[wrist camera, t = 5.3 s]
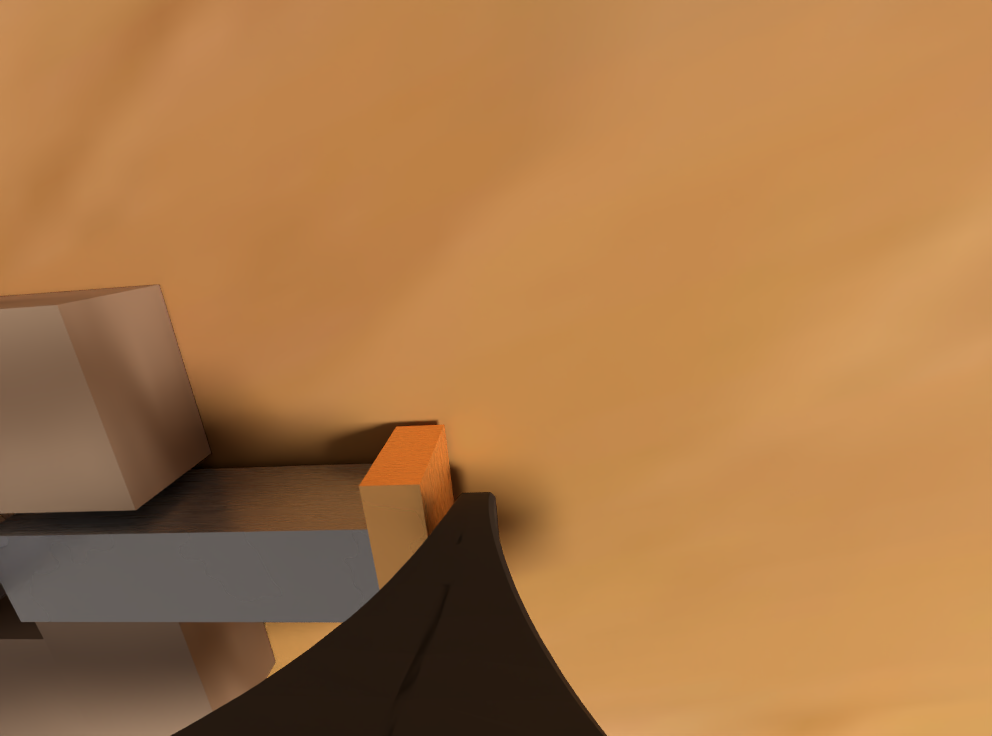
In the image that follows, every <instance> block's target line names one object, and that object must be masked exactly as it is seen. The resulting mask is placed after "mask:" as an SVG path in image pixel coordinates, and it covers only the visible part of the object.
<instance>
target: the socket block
mask: <svg viewBox="0 0 992 736" xmlns="http://www.w3.org/2000/svg"><path fill="white" fill-rule="evenodd" d="M209 454H211V451H210V448H209V444H208V441H207V438H206V435H205V432H204V428H203V425H202V422H201V419H200V415H199V412H198V409H197V406H196V402H195V399H194V396H193V393H192V389H191V386H190V383H189V380H188V376H187V373H186V370H185V367H184V363H183V360H182V357H181V354H180V350H179V347H178V344H177V341H176V337H175V334H174V331H173V328H172V324H171V321H170V318H169V315H168V311H167V308H166V305H165V302H164V298H163V295H162V292H161V289H160V286H159V285H147V286H133V287H120V288H106V289H93V290H79V291H66V292H53V293H39V294H26V295H12V296H0V514H2V513H44V512H86V511H127V510H137V509H138V508H139V507H141V506H142V505H143V504H145V503H146V502H147V501H149V500H150V499H151V498H153V497H154V496H155V495H157V494H158V493H159V492H161V491H162V490H163V489H165V488H166V487H167V486H168V485H170V484H171V483H172V482H174V481H175V480H176V479H178V478H179V477H180V476H182V475H183V474H184V473H186V472H187V471H188V470H190V469H191V468H192V467H194V466H195V465H196V464H198V463H199V462H200V461H202V460H203V459H204V458H205V457H207V456H208V455H209ZM274 664H275V659H274V655H273V652H272V649H271V646H270V642H269V639H268V636H267V633H266V629H265V626H264V623H263V622H21V621H20V619H19V617H18V615H17V613H16V611H15V609H14V607H13V605H12V603H11V602H10V600H9V598H8V596H7V595H6V596H5V597H3V598H2V599H1V600H0V736H171V735H172V734H174V733H176V732H178V731H180V730H181V729H183V728H185V727H187V726H189V725H190V724H192V723H194V722H195V721H197V720H199V719H201V718H202V717H204V716H206V715H207V714H209V713H211V712H213V711H214V710H216V709H218V708H219V707H221V706H223V705H225V704H226V703H228V702H230V701H231V700H233V699H235V698H237V697H238V696H240V695H242V694H243V693H245V692H246V691H248V690H250V689H251V688H253V687H254V686H256V685H258V684H259V683H261V682H262V681H264V680H265V679H266V678H267V676H268V675H269V673H270V671H271V669H272V668H273V666H274Z"/></svg>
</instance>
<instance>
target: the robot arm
mask: <svg viewBox="0 0 992 736" xmlns="http://www.w3.org/2000/svg"><path fill="white" fill-rule="evenodd" d="M171 736H607V735H606V734H605V732H604V731H603V730H602V729H601V727H600V726H599V725H598V723H597V722H596V721H595V719H594V718H593V717H592V715H591V714H590V713H589V711H588V710H587V709H586V707H585V706H584V705H583V703H582V702H581V700H580V699H579V697H578V696H577V695H576V693H575V692H574V690H573V689H572V687H571V686H570V684H569V683H568V681H567V680H566V679H565V677H564V676H563V674H562V672H561V671H560V669H559V667H558V666H557V664H556V662H555V661H554V659H553V657H552V656H551V654H550V653H549V651H548V649H547V648H546V646H545V644H544V643H543V641H542V639H541V638H540V636H539V634H538V632H537V630H536V628H535V626H534V625H533V623H532V621H531V619H530V617H529V615H528V613H527V611H526V609H525V607H524V605H523V603H522V600H521V598H520V596H519V594H518V591H517V589H516V587H515V584H514V582H513V579H512V577H511V574H510V572H509V569H508V566H507V563H506V560H505V557H504V555H503V551H502V548H501V544H500V541H499V530H498V519H497V508H496V498H495V496H494V495H493V494H492V493H491V492H478V493H462V494H461V495H460V496H459V497H458V498H457V500H456V501H455V502H454V504H453V505H452V506H451V508H450V509H449V510H448V512H447V513H446V514H445V516H444V517H443V518H442V520H441V521H440V522H439V524H438V525H437V526H436V528H435V529H434V530H433V531H432V533H431V534H430V535H429V536H428V537H427V539H426V540H425V541H424V542H423V544H422V545H421V546H420V547H419V548H418V550H417V551H416V552H415V553H414V554H413V555H412V556H411V558H410V559H409V560H408V561H407V562H406V563H405V564H404V565H403V566H402V567H401V568H400V570H399V571H398V572H397V573H396V574H395V575H394V576H393V577H392V578H391V579H390V580H389V581H388V582H387V583H386V584H385V585H384V586H383V587H382V588H381V589H380V590H379V591H378V592H377V593H376V594H375V595H374V596H373V597H372V598H371V599H370V600H369V601H368V602H367V603H365V604H364V605H363V606H362V607H361V608H360V609H359V610H358V611H357V612H355V613H354V614H353V615H352V616H351V617H350V618H348V619H347V620H346V621H344V622H343V623H342V624H341V625H339V626H338V627H337V628H336V629H334V630H333V631H332V632H330V633H329V634H328V635H327V636H325V637H324V638H323V639H322V640H320V641H319V642H318V643H317V644H315V645H314V646H313V647H311V648H310V649H309V650H307V651H306V652H305V653H303V654H302V655H300V656H299V657H297V658H296V659H295V660H293V661H292V662H290V663H289V664H287V665H286V666H285V667H283V668H282V669H280V670H279V671H277V672H276V673H274V674H273V675H271V676H270V677H268V678H267V679H265V680H264V681H262V682H261V683H259V684H258V685H256V686H254V687H253V688H251V689H250V690H248V691H246V692H245V693H243V694H242V695H240V696H238V697H237V698H235V699H233V700H231V701H230V702H228V703H226V704H225V705H223V706H221V707H219V708H218V709H216V710H214V711H213V712H211V713H209V714H207V715H206V716H204V717H202V718H201V719H199V720H197V721H195V722H194V723H192V724H190V725H189V726H187V727H185V728H183V729H181V730H180V731H178V732H176V733H174V734H172V735H171Z"/></svg>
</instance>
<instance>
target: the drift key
mask: <svg viewBox="0 0 992 736" xmlns="http://www.w3.org/2000/svg"><path fill="white" fill-rule="evenodd" d="M453 504H454V497H453V490H452V482H451V474H450V466H449V458H448V450H447V442H446V434H445V426H444V425H425V426H400V427H396V428H395V429H394V431H393V433H392V434H391V436H390V437H389V439H388V441H387V442H386V444H385V445H384V447H383V449H382V450H381V452H380V453H379V455H378V456H377V458H376V460H375V461H374V463H372V464H342V465H311V466H281V467H250V468H220V469H190V470H188V471H187V472H186V473H184V474H183V475H182V476H180V477H179V478H178V479H176V480H175V481H174V482H172V483H171V484H170V485H168V486H167V487H166V488H165V489H163V490H162V491H161V492H159V493H158V494H157V495H155V496H154V497H153V498H151V499H150V500H149V501H147V502H146V503H145V504H143V505H142V506H141V507H139V508H138V509H137V510H127V511H86V512H44V513H16V514H15V515H13V516H11V517H9V518H8V519H6V520H4V521H3V522H1V523H0V582H1V584H2V586H3V588H4V590H5V592H6V594H7V596H8V598H9V600H10V602H11V603H12V605H13V607H14V609H15V611H16V613H17V615H18V617H19V619H20V621H21V622H344V621H346V620H347V619H348V618H350V617H351V616H352V615H353V614H354V613H355V612H357V611H358V610H359V609H360V608H361V607H362V606H363V605H364V604H365V603H367V602H368V601H369V600H370V599H371V598H372V597H373V596H374V595H375V594H376V593H377V592H378V591H379V590H380V589H381V588H382V587H383V586H384V585H385V584H386V583H387V582H388V581H389V580H390V579H391V578H392V577H393V576H394V575H395V574H396V573H397V572H398V571H399V570H400V568H401V567H402V566H403V565H404V564H405V563H406V562H407V561H408V560H409V559H410V558H411V556H412V555H413V554H414V553H415V552H416V551H417V550H418V548H419V547H420V546H421V545H422V544H423V542H424V541H425V540H426V539H427V537H428V536H429V535H430V534H431V533H432V531H433V530H434V529H435V528H436V526H437V525H438V524H439V522H440V521H441V520H442V518H443V517H444V516H445V514H446V513H447V512H448V510H449V509H450V508H451V506H452V505H453Z"/></svg>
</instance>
